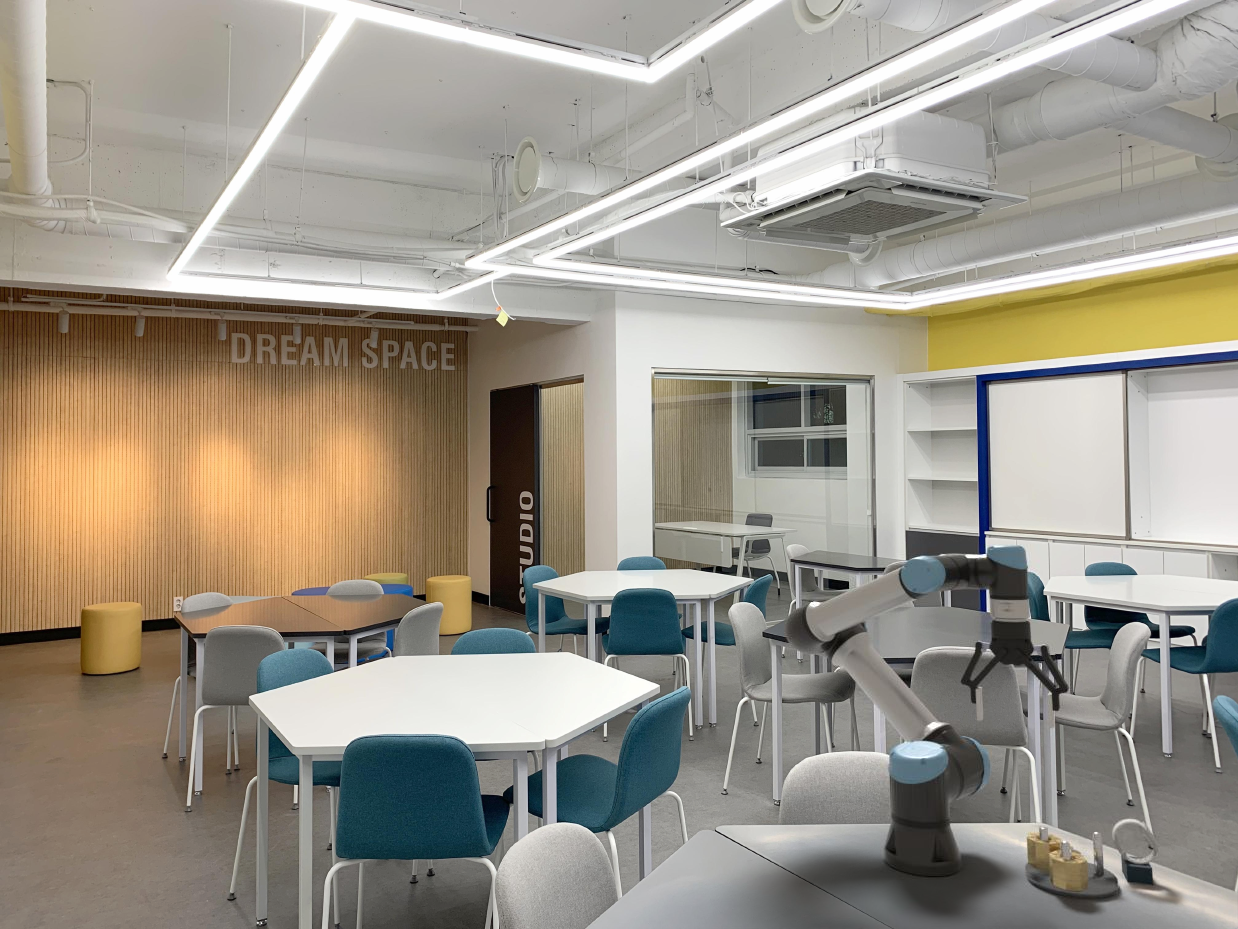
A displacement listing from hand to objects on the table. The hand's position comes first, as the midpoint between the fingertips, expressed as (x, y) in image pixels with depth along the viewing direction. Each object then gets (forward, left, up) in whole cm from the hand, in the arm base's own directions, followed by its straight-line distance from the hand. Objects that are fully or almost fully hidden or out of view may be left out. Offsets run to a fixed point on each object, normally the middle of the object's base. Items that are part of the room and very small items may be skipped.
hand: (1015, 723), depth 175 cm
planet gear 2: (+9, -9, -27) cm, 30 cm away
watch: (+20, +5, -29) cm, 35 cm away
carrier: (+9, -3, -29) cm, 30 cm away
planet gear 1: (+4, 0, -27) cm, 28 cm away
